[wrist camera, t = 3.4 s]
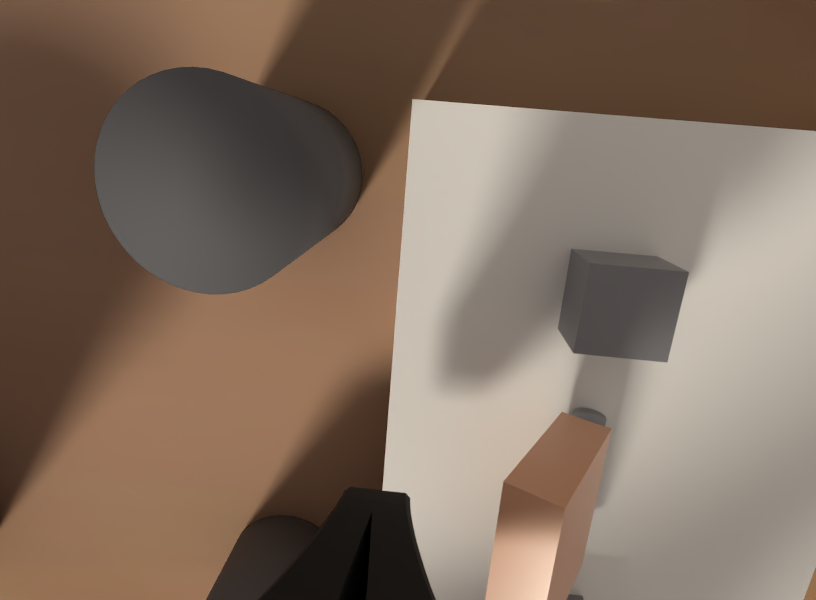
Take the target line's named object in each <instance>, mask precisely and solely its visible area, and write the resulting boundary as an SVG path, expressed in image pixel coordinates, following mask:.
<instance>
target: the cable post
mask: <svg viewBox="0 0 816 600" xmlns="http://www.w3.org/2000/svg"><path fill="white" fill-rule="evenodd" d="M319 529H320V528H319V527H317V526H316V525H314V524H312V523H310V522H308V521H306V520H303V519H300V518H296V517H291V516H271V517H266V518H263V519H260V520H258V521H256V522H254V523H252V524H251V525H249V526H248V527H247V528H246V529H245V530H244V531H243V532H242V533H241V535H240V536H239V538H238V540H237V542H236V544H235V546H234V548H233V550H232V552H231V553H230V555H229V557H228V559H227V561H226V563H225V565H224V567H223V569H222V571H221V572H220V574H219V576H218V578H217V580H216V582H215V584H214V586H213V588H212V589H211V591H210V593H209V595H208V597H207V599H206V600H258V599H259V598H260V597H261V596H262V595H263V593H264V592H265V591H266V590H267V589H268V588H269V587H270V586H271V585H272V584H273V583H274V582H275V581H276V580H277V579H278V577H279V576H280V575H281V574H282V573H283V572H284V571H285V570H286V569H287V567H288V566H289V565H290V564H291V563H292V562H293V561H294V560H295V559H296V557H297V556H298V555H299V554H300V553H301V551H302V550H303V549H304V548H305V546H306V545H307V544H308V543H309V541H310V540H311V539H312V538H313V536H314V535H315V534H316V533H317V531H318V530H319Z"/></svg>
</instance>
